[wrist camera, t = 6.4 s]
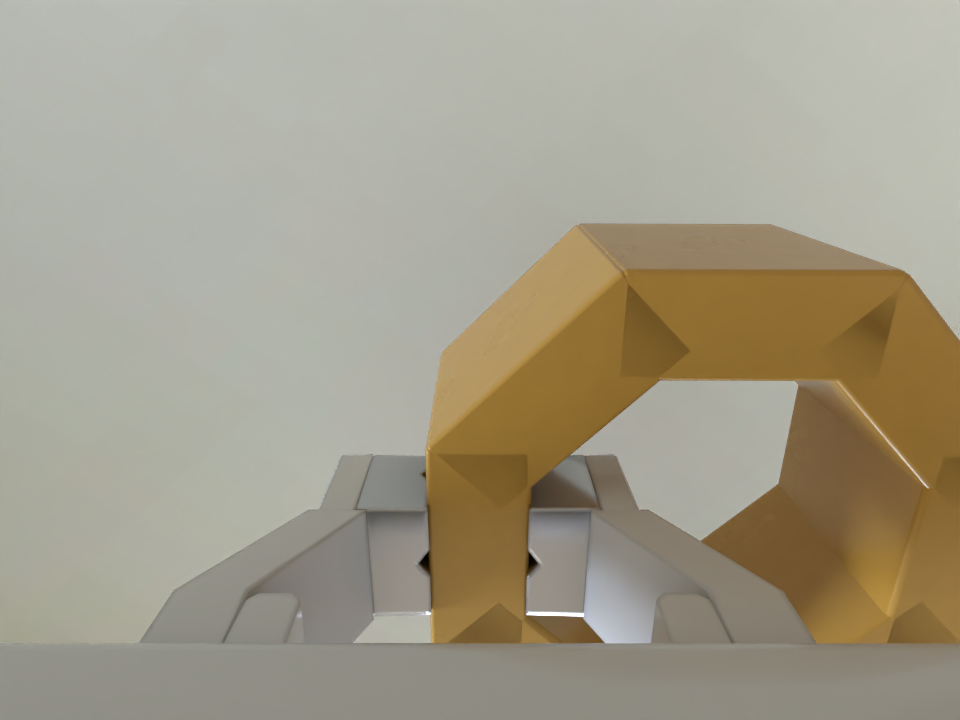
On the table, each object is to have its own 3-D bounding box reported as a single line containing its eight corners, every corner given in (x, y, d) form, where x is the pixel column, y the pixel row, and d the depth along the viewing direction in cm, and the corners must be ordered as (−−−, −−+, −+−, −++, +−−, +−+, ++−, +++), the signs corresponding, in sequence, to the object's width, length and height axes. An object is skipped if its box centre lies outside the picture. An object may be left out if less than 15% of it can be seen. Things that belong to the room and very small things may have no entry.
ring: (445, 600, 13) (434, 761, 10) (437, 222, 11) (418, 269, 7) (817, 600, 13) (931, 761, 10) (910, 224, 11) (1113, 271, 7)
